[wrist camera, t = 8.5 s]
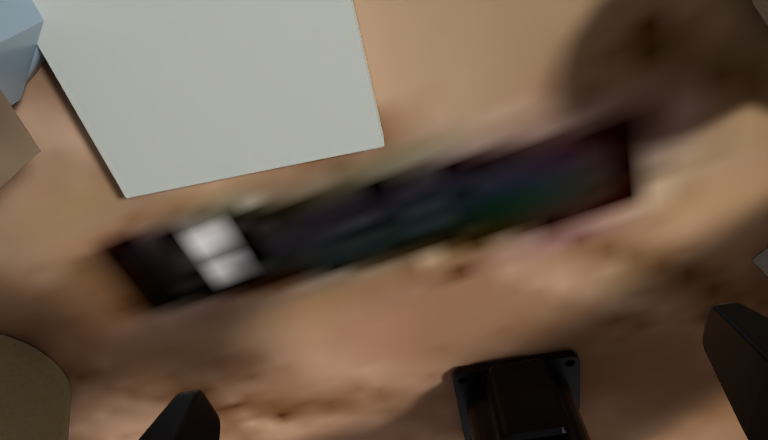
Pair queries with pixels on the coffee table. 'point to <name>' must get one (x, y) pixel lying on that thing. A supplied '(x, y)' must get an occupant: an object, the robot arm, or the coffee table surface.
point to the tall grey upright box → (762, 261)
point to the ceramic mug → (762, 8)
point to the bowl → (18, 46)
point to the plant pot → (32, 394)
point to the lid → (13, 142)
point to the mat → (211, 84)
